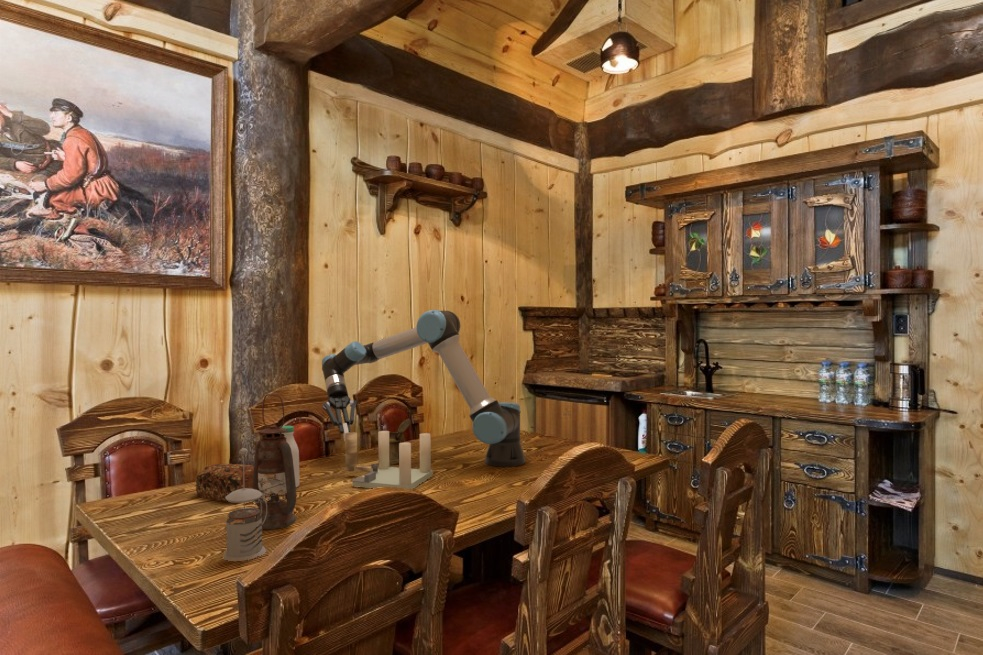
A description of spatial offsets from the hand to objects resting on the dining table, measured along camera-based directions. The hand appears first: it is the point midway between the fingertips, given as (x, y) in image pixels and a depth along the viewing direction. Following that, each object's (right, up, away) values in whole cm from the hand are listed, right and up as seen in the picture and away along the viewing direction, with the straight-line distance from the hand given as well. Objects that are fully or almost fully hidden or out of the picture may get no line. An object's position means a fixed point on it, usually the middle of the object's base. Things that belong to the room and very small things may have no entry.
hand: (347, 439), depth 215 cm
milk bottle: (-15, -12, -20) cm, 28 cm away
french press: (-6, -13, -74) cm, 76 cm away
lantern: (-7, -12, -54) cm, 56 cm away
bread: (-30, -12, -30) cm, 44 cm away
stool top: (+19, -11, -14) cm, 27 cm away
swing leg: (+7, -9, -9) cm, 15 cm away
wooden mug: (+16, -11, +11) cm, 22 cm away
